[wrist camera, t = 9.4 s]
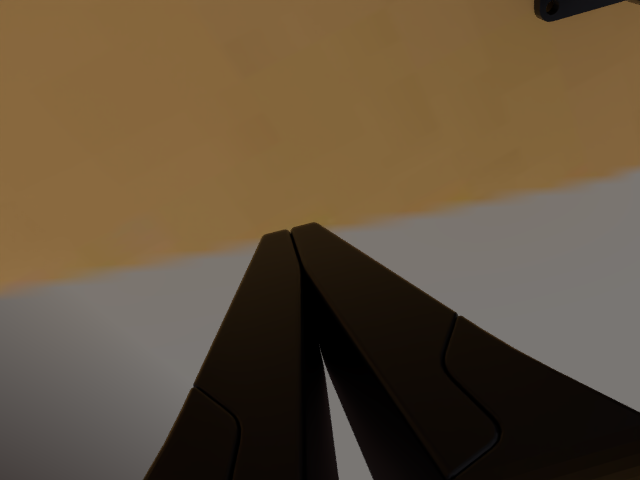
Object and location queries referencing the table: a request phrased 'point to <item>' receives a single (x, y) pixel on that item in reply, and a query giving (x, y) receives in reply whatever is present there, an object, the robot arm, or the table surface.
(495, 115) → the table surface
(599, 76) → the table surface
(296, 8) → the table surface
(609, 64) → the table surface
